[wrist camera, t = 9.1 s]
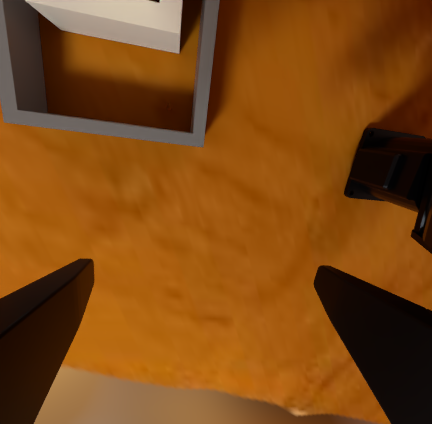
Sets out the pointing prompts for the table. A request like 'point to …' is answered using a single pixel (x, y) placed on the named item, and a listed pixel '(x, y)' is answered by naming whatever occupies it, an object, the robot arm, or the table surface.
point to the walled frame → (107, 29)
